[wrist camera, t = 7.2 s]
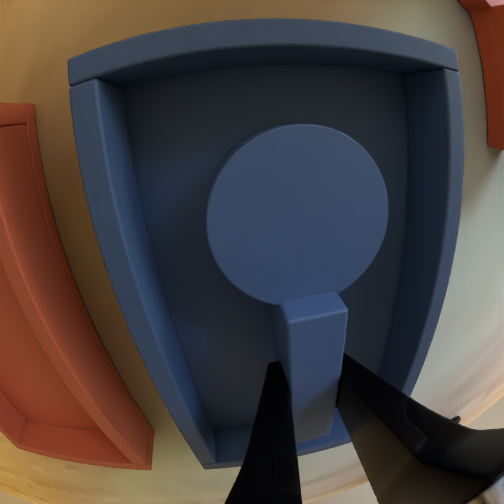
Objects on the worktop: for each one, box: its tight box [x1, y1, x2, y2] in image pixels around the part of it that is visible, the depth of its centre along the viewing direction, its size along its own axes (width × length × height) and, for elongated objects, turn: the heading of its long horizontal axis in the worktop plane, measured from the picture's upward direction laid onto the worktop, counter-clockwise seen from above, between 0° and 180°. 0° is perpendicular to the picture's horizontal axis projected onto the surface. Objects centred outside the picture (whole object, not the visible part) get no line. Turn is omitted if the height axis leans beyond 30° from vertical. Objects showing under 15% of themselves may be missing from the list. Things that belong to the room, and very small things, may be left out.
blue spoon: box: [206, 124, 389, 443], centre depth 8 cm, size 11×5×2 cm, turn 6°
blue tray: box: [68, 18, 464, 469], centre depth 9 cm, size 15×9×2 cm, turn 6°
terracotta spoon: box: [458, 0, 504, 150], centre depth 5 cm, size 11×5×2 cm, turn 6°
